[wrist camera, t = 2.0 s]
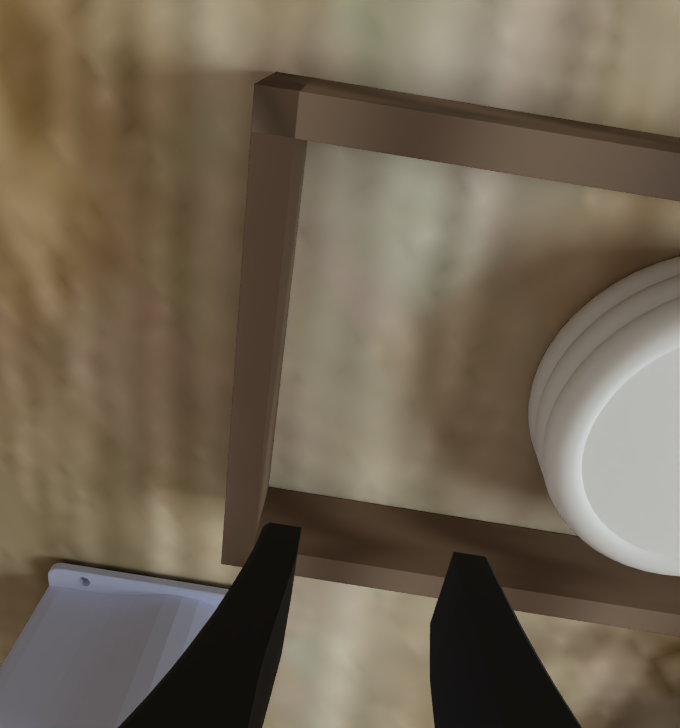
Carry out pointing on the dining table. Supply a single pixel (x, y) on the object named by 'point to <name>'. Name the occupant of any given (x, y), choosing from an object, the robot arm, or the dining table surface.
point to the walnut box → (268, 329)
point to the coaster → (616, 420)
